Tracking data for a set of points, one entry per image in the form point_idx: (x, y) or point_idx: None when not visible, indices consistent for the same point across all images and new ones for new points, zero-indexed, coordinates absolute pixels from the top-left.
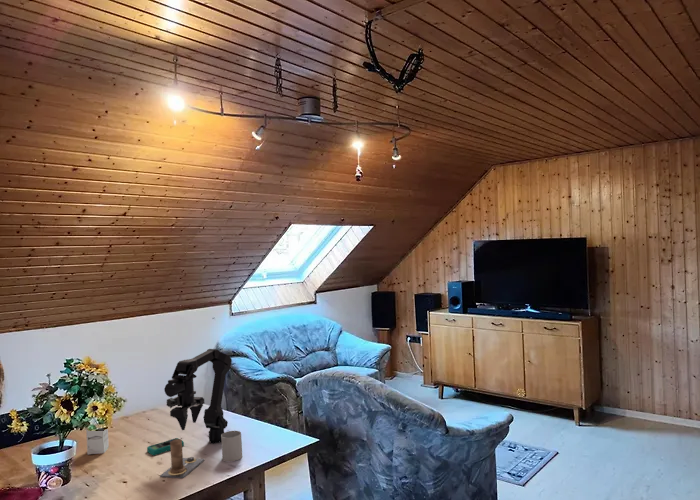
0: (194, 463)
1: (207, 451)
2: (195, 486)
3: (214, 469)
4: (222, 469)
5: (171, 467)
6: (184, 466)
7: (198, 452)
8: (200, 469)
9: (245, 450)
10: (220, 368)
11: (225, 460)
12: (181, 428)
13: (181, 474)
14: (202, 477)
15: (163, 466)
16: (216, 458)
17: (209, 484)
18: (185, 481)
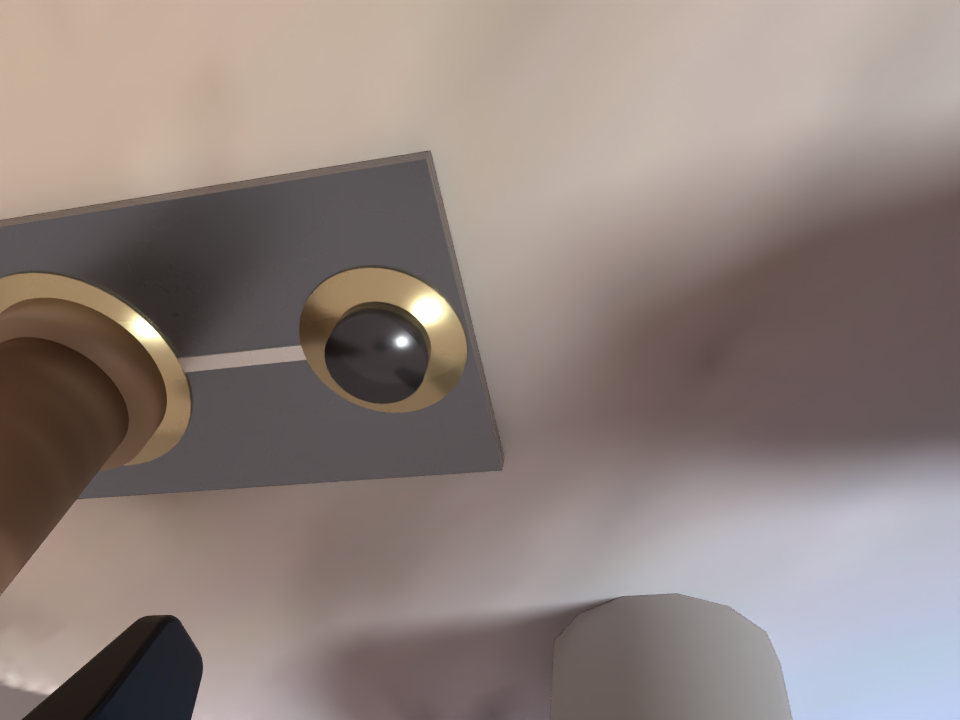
0: (340, 434)
1: (816, 333)
2: (31, 643)
3: (350, 638)
4: (381, 688)
5: (10, 322)
6: (135, 452)
7: (756, 218)
8: (286, 534)
9: (884, 705)
10: None
11: (553, 656)
12: (92, 671)
13: None
14: None
15: (82, 18)
16: (598, 548)
17: None
18: None
